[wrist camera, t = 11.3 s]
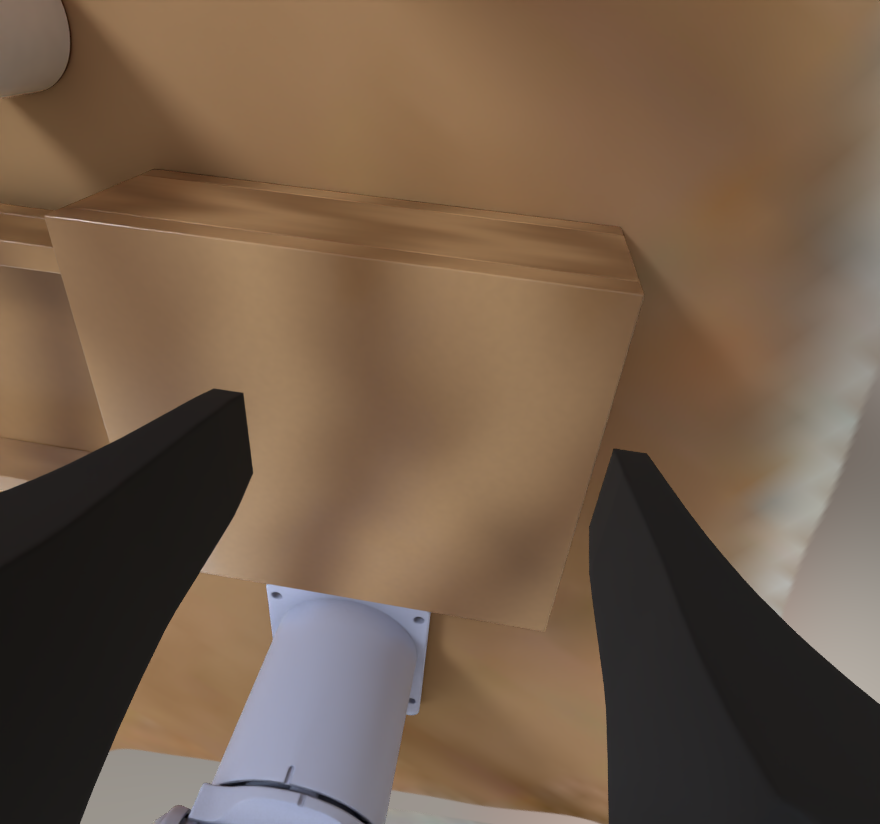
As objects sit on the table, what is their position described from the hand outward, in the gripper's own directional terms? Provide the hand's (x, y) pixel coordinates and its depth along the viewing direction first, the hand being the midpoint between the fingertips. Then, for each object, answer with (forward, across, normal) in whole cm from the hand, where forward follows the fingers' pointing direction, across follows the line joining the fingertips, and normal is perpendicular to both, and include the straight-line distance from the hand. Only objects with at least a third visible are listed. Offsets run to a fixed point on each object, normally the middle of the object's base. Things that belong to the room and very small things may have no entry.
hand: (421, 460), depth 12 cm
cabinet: (+9, +3, +4) cm, 11 cm away
